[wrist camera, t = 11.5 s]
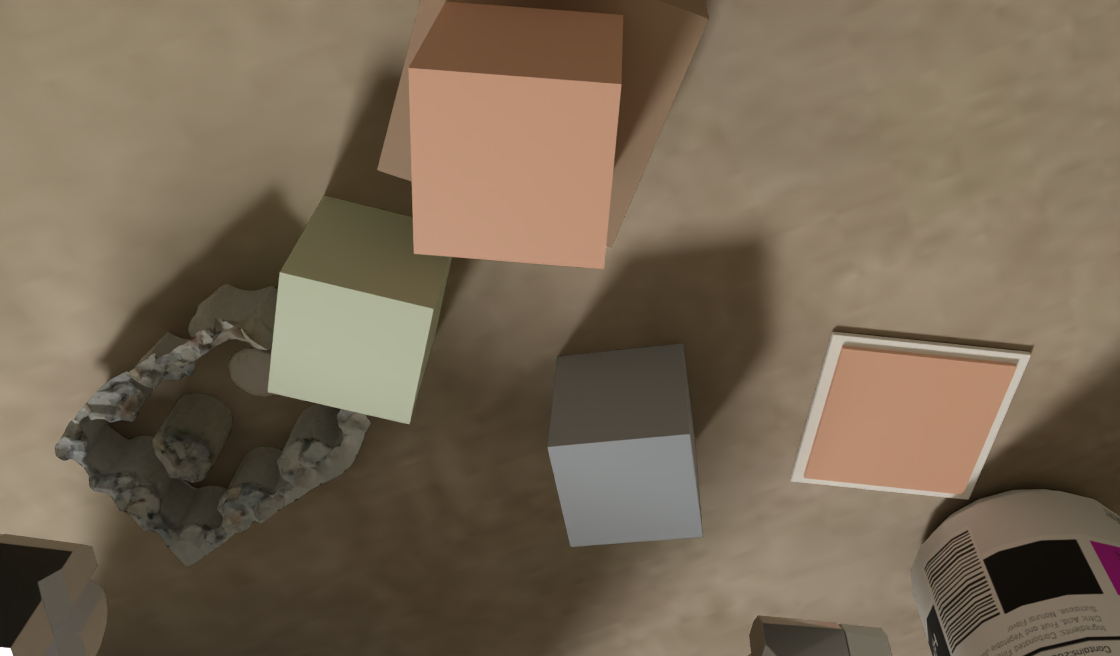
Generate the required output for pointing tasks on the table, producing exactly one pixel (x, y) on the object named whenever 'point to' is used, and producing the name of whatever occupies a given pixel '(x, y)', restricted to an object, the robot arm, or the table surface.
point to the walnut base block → (646, 90)
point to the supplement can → (1022, 578)
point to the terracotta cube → (515, 134)
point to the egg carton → (206, 435)
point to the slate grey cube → (625, 446)
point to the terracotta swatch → (906, 414)
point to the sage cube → (356, 312)
